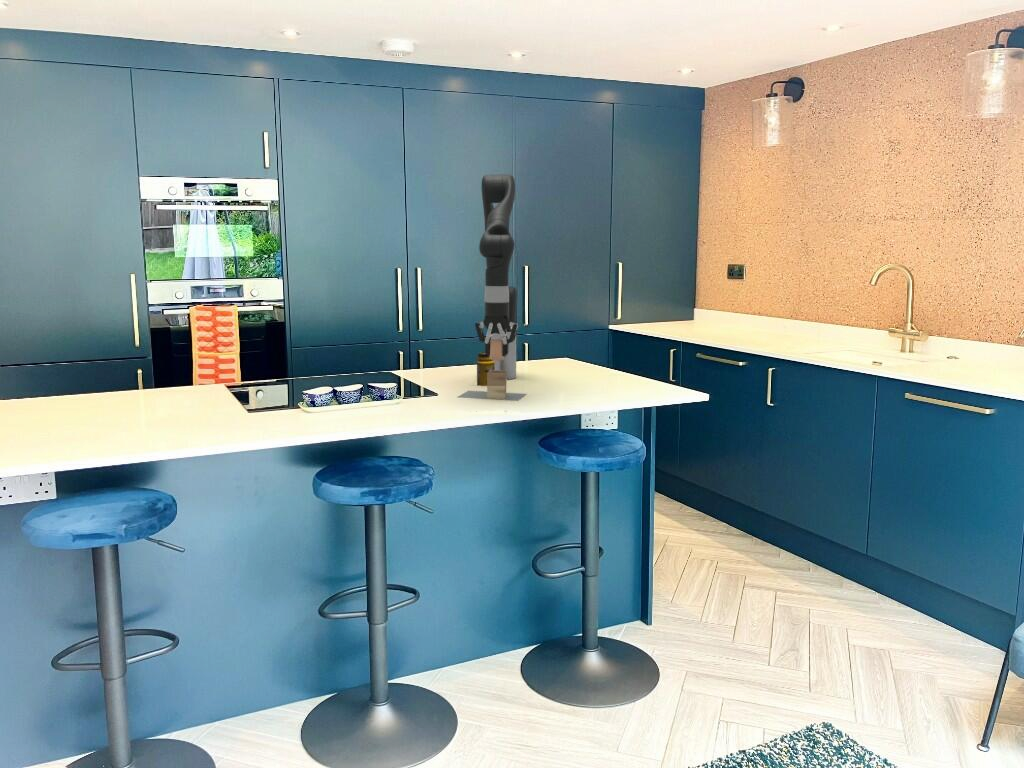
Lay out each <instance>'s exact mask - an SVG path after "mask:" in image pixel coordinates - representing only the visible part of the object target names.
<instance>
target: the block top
mask: <svg viewBox="0 0 1024 768" xmlns="http://www.w3.org/2000/svg"><path fill="white" fill-rule="evenodd" d="M506 377H507V371H500V370H489V371H488V372H487V386H505V385H506V386H507V379H506ZM487 386H486V387H487Z"/></svg>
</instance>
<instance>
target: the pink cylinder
mask: <svg viewBox="0 0 1024 768" xmlns="http://www.w3.org/2000/svg"><path fill="white" fill-rule="evenodd" d="M503 344H504V343H503V340H500V339H492V340H490V360H504V356H503Z"/></svg>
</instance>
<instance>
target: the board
mask: <svg viewBox="0 0 1024 768" xmlns="http://www.w3.org/2000/svg"><path fill="white" fill-rule="evenodd" d="M527 395H528V393H518V392H517V393H516V392H506V397H505V399H492V400H493V401H494V400H497V401H515V402H516V401H517V402H519V401H520V400H522V399H524V398H525V396H527ZM457 398H462V399H475V400H476V399H477V400H490V399H489V398H487V391H483V390H482V391H481V390H479V391H478V390H467V391H465V392H464V393H462V394H459V395H457Z"/></svg>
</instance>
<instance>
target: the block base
mask: <svg viewBox="0 0 1024 768" xmlns="http://www.w3.org/2000/svg"><path fill="white" fill-rule="evenodd" d="M486 392H487V398H489V399H488V400H493V399H505V397H506V393H507V384H506V385H505V386H486Z"/></svg>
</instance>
